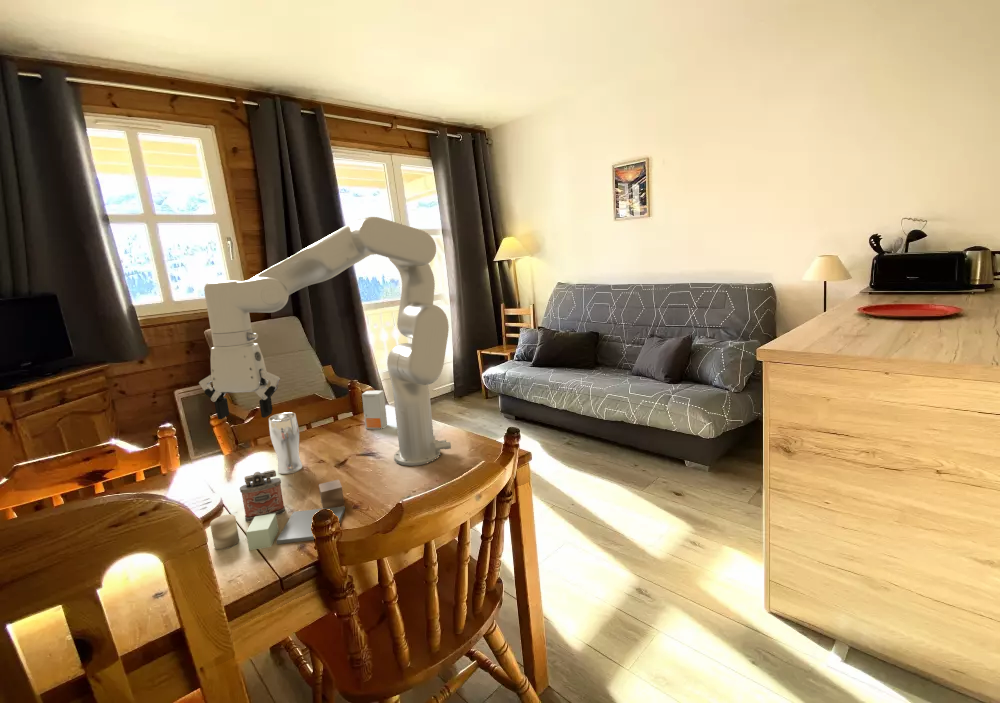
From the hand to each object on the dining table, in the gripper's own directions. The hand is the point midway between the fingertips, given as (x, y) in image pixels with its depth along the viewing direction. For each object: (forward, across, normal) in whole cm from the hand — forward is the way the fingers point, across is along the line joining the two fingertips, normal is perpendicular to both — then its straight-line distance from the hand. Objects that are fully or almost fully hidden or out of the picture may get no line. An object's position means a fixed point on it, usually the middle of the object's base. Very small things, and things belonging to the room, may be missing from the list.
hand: (245, 416), depth 106 cm
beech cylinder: (+22, 0, +13) cm, 26 cm away
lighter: (+22, -3, +3) cm, 22 cm away
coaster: (+22, -16, +8) cm, 28 cm away
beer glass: (+22, +3, -21) cm, 30 cm away
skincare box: (+22, -12, -51) cm, 57 cm away
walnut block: (+22, -16, -1) cm, 27 cm away
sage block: (+20, -10, +12) cm, 25 cm away
